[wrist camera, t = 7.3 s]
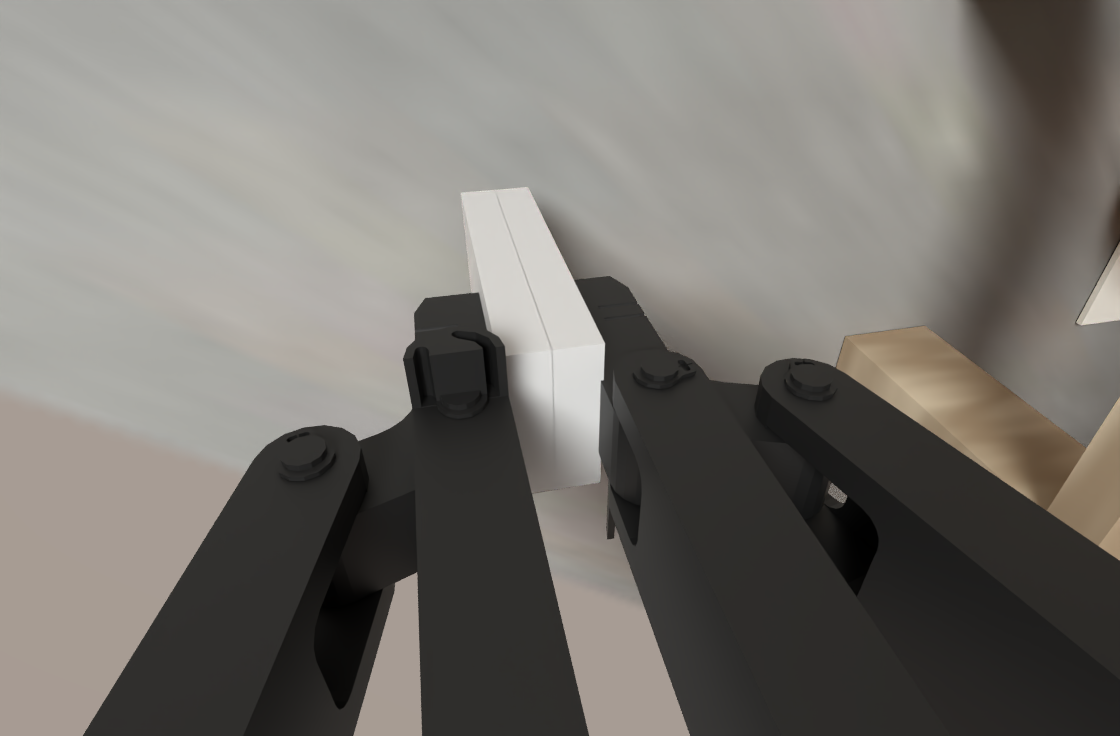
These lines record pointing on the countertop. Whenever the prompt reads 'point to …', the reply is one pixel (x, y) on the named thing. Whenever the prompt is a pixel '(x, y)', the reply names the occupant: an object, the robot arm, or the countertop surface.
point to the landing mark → (1104, 295)
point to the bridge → (995, 427)
